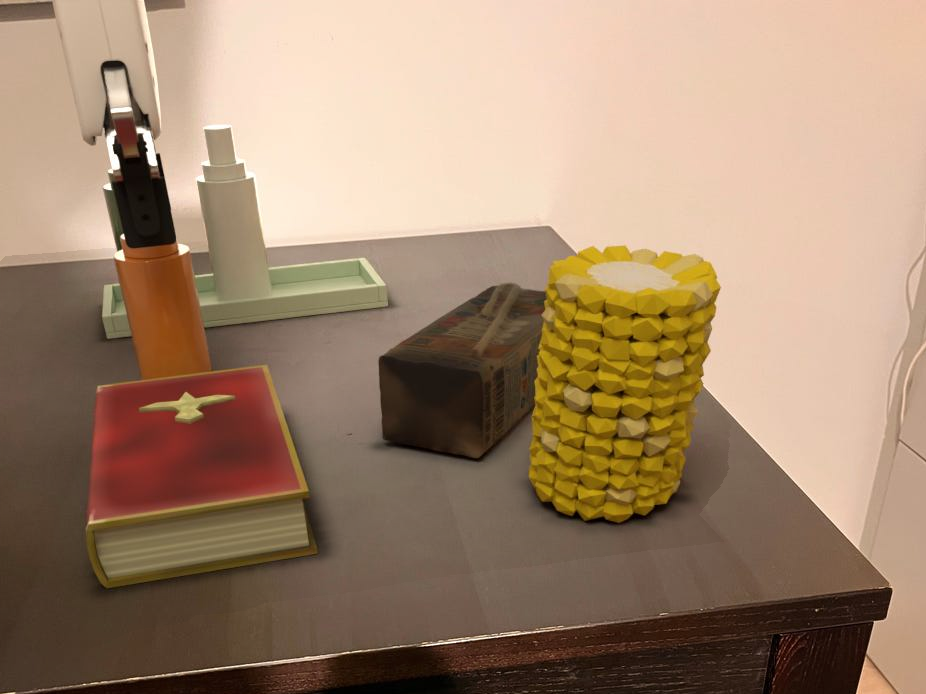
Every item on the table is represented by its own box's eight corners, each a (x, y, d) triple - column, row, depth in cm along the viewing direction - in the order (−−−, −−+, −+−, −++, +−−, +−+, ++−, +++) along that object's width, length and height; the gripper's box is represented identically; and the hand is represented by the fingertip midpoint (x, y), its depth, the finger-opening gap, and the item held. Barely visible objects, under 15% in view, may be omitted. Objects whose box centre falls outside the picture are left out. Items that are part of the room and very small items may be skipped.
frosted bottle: (207, 301, 97) (175, 128, 88) (253, 289, 100) (226, 120, 91) (237, 312, 94) (207, 133, 85) (283, 299, 96) (259, 125, 88)
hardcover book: (98, 589, 55) (78, 521, 52) (105, 439, 72) (90, 382, 69) (317, 553, 57) (308, 486, 55) (275, 416, 74) (266, 360, 72)
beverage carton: (582, 368, 80) (584, 283, 77) (483, 466, 66) (481, 368, 62) (490, 356, 83) (488, 274, 79) (377, 448, 69) (368, 353, 65)
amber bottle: (135, 402, 77) (85, 192, 69) (194, 383, 80) (154, 179, 72) (170, 420, 74) (122, 202, 66) (230, 400, 77) (192, 189, 68)
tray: (107, 339, 90) (101, 316, 89) (108, 305, 98) (103, 284, 97) (388, 306, 95) (386, 285, 94) (366, 277, 104) (365, 257, 103)
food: (574, 471, 69) (706, 518, 64) (467, 499, 60) (611, 557, 55) (622, 233, 62) (773, 265, 57) (510, 226, 53) (678, 263, 48)
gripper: (30, -67, 66) (97, 210, 76) (5, -74, 52) (91, 266, 62) (147, -72, 68) (198, 200, 78) (153, -81, 54) (214, 252, 64)
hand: (150, 229), depth 70 cm, fingers open, 9 cm apart
